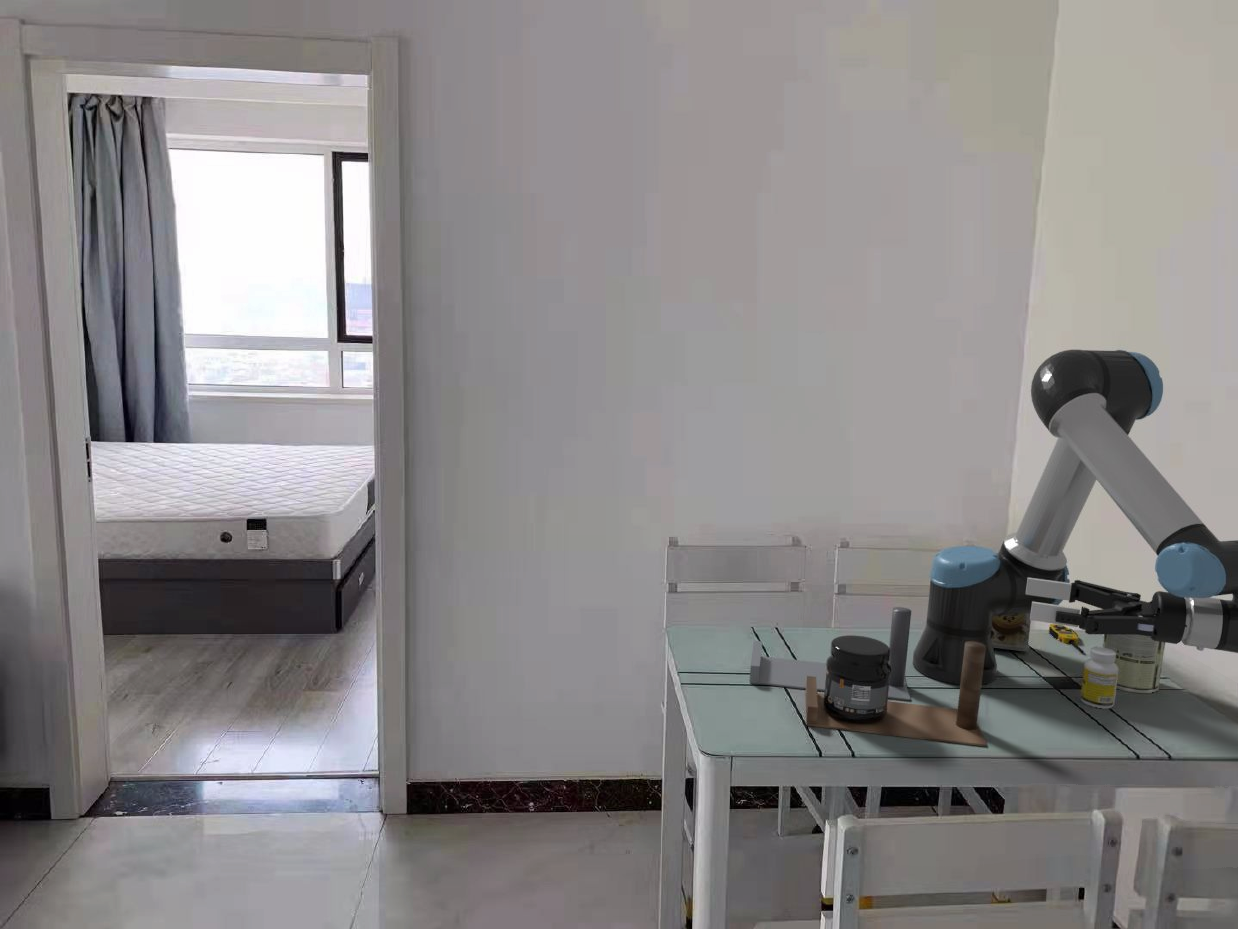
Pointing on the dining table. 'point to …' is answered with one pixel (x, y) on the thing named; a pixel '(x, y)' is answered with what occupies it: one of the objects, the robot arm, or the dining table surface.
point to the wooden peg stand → (919, 710)
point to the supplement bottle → (1100, 679)
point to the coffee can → (1136, 661)
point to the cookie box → (1011, 631)
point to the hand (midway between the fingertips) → (1028, 597)
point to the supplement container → (857, 679)
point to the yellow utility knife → (1064, 635)
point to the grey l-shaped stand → (797, 670)
